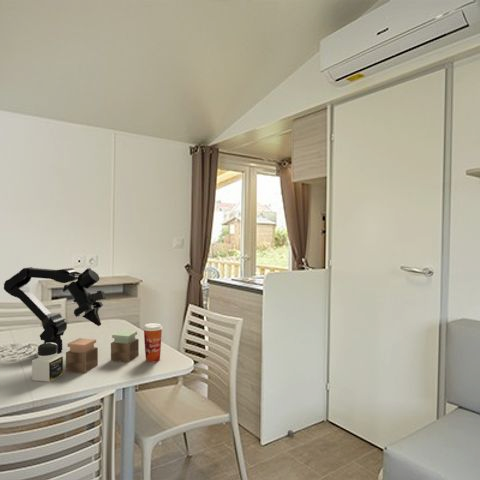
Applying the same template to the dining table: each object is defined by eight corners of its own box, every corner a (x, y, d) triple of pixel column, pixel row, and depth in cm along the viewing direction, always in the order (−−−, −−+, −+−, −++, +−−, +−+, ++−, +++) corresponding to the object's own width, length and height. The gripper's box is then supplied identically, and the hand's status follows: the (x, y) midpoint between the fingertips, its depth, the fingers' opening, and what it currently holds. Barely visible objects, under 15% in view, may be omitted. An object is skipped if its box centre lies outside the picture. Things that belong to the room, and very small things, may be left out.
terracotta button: (67, 362, 141) (67, 343, 141) (79, 356, 148) (79, 338, 148) (84, 364, 140) (84, 344, 139) (96, 357, 147) (96, 339, 146)
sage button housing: (110, 360, 153) (110, 343, 152) (121, 354, 160) (121, 337, 160) (129, 361, 151) (129, 344, 151) (138, 355, 159) (138, 338, 158)
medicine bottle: (49, 382, 131) (49, 347, 130) (31, 380, 132) (31, 346, 132) (63, 374, 138) (63, 341, 137) (46, 373, 139) (45, 340, 139)
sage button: (112, 352, 153) (112, 335, 153) (121, 347, 160) (121, 330, 160) (128, 354, 151) (128, 336, 151) (137, 348, 158) (137, 331, 158)
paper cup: (145, 364, 149) (145, 328, 148) (141, 358, 155) (141, 324, 155) (165, 361, 152) (165, 326, 152) (160, 355, 159) (159, 322, 159)
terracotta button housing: (65, 371, 141) (65, 352, 141) (79, 363, 149) (79, 346, 148) (85, 373, 139) (85, 354, 139) (97, 365, 147) (97, 347, 147)
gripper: (88, 283, 152) (109, 316, 151) (103, 283, 170) (122, 312, 169) (64, 299, 151) (85, 332, 150) (81, 297, 169) (100, 327, 168)
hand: (100, 325), depth 159 cm, fingers closed
